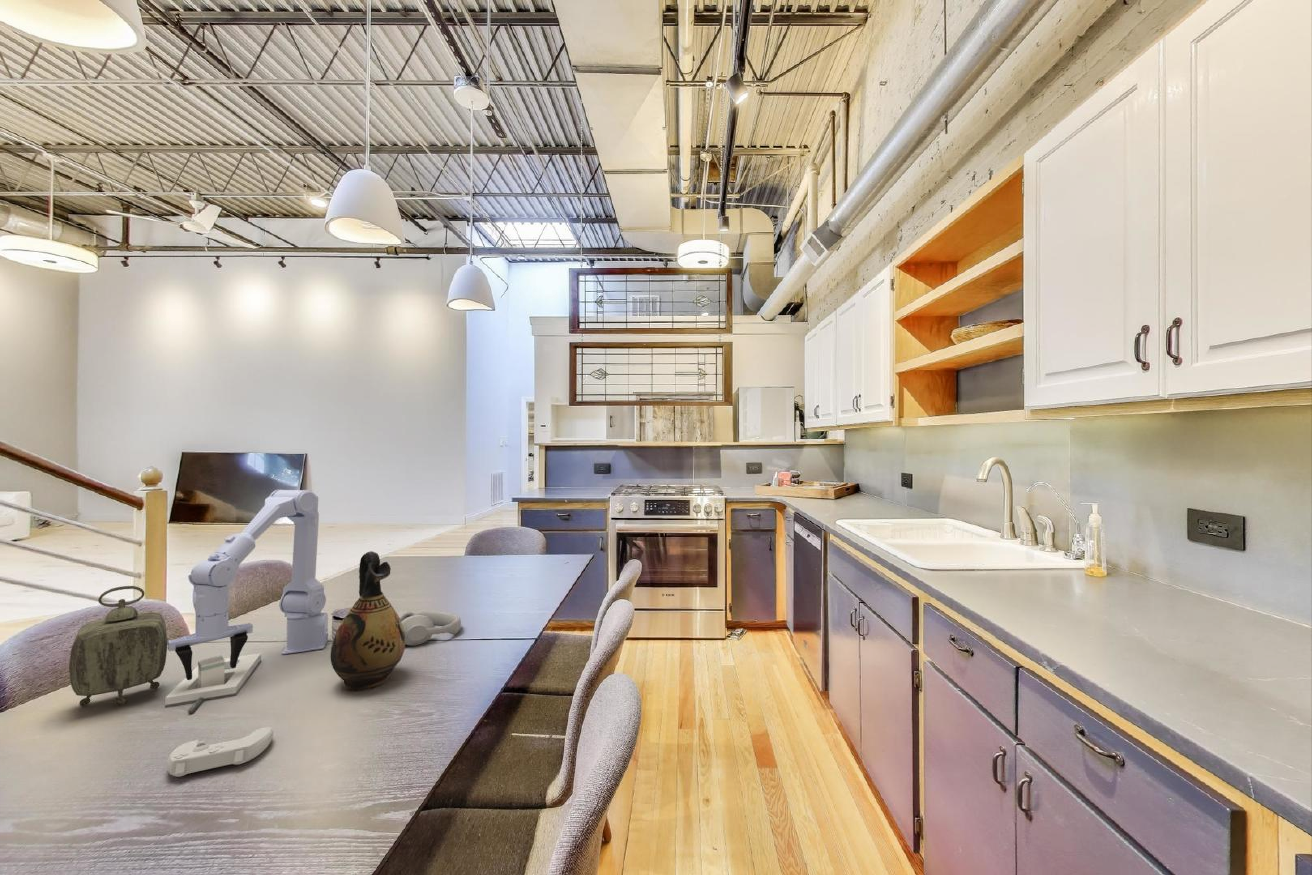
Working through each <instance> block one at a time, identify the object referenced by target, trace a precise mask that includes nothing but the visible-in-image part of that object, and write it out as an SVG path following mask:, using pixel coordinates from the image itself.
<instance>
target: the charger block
mask: <svg viewBox="0 0 1312 875" xmlns="http://www.w3.org/2000/svg"><path fill="white" fill-rule="evenodd" d="M224 659H225V658H224V657H223V656H222V655H217V656H212V657H209V658H205V659H199V660H198V661H197V666H198V688H204V687H210V686H216V685H222V684H224V666H225V660H224Z"/></svg>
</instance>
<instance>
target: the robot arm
mask: <svg viewBox="0 0 1312 875" xmlns="http://www.w3.org/2000/svg"><path fill="white" fill-rule="evenodd" d="M318 506H319V496H317V495H316V494H315V493H314V492H313V491H312V490H310V489H302V490H301V489H295V490H293V489H275V490H274V491H272V492H271V493H270V494H269V496H268V497H266V498H265V500H264V506H263V507H262V508H261V509H260V510H259V511H258V512H257V513H256V515H255V516H254V517H253V518H252V520H250V522H249V523H248V524H247V525H246V526H245V528H244V529H243V530H242V531H241V532H239V533H233V534H231V535H229V536H227V537H226V538H225V539H224V542H223V543H222V544H221V545H220V546H219V547H218V548H217V549H216V550H215V551H214V552H213V553H211V554H210V555H209V556H208V558H207V559H205V560H204V559H203V561H199V562H198V563H196V565H194V567H193V568H192V570H191V572H190V574H189V575H188V576H187V577H188V581H189V583H190V584H192V586H193V592H194V593H195V633H192V634H188V635H184V636H181V637H178V638H173V639H170V640H167V651H168V652H175V653H176V655H177V657H178V658H179V660H180V662H181V664H182V667H183V669H184V672H185V678H187V680H191V679H192V671H193V669H192V667H193V666H192V661H193V660H192V659H193V651H192V647H191V646H196V645H200V644H204V643H209V642H213V641H217V640H222V639H227V638H229V640H230V657H229V658H230V667H231V668H232V669H233V668H236V664H237V660H238V657H239V656H241V655H240V654H241V652H242V649H243V648H244V646H245V644H246V643H247V641H248V638H249V637H248V634H249V635H250V634H252V633H254V632H253V630H254V629H253V628H254V626H253V623H252V622H248V623H242V624H236V625H230V626H229V606H230V605H229V600H230V599H229V598H230V597H229V595H230V594H229V593H230V592H229V591H230V583H231V582H233V580H235V578H236V576H237V573H238V572H237V571H238V570H239V567H240V565H241V564H242V563H243V561H244V560H245V559H246V558H247V557H248V556H249V555H250V554H251V553H252V552H253V551H254V550H255V549H256V540H257V539H259V537H261V535H262V534H264V533H265V531H267V530H268V529H270V527H271V526H272V525H273V524H274V523H275V522H277V521H278V520H279V519H282V518H287V519H289V520H290V521H291V522H293V524H294V533H293V547H292V548H293V552H292V553H293V554H292V566H291V568H292V569H291V579H290V580H291V581H290V582H288V583H287V584H286V585H284V587H283V589H282V590H283V591H282V595H281V598H279V599H280V600H279V604H278V606H279V609H280V611H281V612H282V613H284V617H286V646H285V647H284V649H283V651H282V652H281V654H282V655H288V654H295V653H297V654H298V653H303V652H310V651H316V650H322V649H324V648H325V647H326V645H327V642H328V640H329V614H328V612H322V611H323V609H324V608H325V605H326V602H327V597H326V596H327V595H326V594H325V585H323V583H321V582H320V581H319V580H318V579H317V578H316V573H317V554H318V540H319V538H318V537H319V523H320V522H319V521H320V518H319V517H320V516H319V515H320V514H319V510H318V509H319V507H318Z"/></svg>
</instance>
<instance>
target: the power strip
mask: <svg viewBox="0 0 1312 875" xmlns="http://www.w3.org/2000/svg"><path fill="white" fill-rule="evenodd" d="M223 659H224V660H225V666H224V684H222V685H216V686H210V687H204V688H198V665H196V667H195V668H194V669H192V679H191V680H187V678H186V677H184V679H182V680H181V681H180V683H179V684H177V685H176V686H175V687H174V688H173V690H172V691H170V692H169V694H168V695H166V696H165V698H164V699H165V700H164V701H165V703H164V708H169V707H176V706H181V705H187V704H192V706H191V707H189V709H188V710H187V713H188V714H193V713H194V712H195V711H196V710H197V709H198V708H199V706H201V704H203V703H202V702H205V701H206V702H207V701H211V700H216V699H217V700H218V699H223V698H228V697H234V696H237V695H238V693H239V692H240V690H241V689H242V688H243V687H244V685H245V684H246V683H247V681H248V680H249V678H250V676H252V674H253V673H254V672H255V670H256V669H257V667H258V666H259V665H260V663H261V662H262V653H254V654H248V655H247V654H245V655H239V657H238V660H237V664H236V668H233V669H232V668H231V667H230V657H227V658H226V657H225V658H223Z"/></svg>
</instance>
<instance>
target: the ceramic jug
mask: <svg viewBox="0 0 1312 875" xmlns="http://www.w3.org/2000/svg"><path fill="white" fill-rule="evenodd" d="M358 574H359V575H358V579H359V590H358V593H359V595H358V596H359V598H358V599H357V600H356V601H355V603H353V607H352V606H351V607H352V608H351V609H350V610H349V612H348V614H347V615H346V617H345V618H344V619H343V621H342V623H341V624H340V626H339V628H338V630H337V632H336V634H335V637H334V640H333V644H332V643H331V648H330V656H329V657H330V663H331V667H332V669H333V671H334V673H336V675H337V676H338V678H340V679H341V680H342V681H343V686H344V688H345V689H346V690H347V691H349V692H351V691H352V692H355V691H368V690H371V689H372V690H373V689H375V688H377V687H378V686H381V685H384V684H385V683H386V682H387V681H388V679H389V676H390V675H391V673H392V671H393V670H394V669H396V666H398V664H399V663H400V661H401V660H402V657H403V655H404V653H405V648H406V644H405V636H404V634H405V632H404V629H403V625H402V623H401V620H400V617H399V616H398V614H397V612H396V610H395V608H394V607H393V606H392V604H391V602H390V601H389V600H388V599H387V598H386V595H384V592H383V591H382V588H381V581H382V580H385V579H386V578H388V577H389V576H390V575H391V566H390V564H389V562H388V561H383V562H382V563H381V560H380V555H379V554H378V552H375V551H373V550H371V551H367V552H366V553H364V554H363V555H362V556H361V558H360V560H359V569H358Z"/></svg>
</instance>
